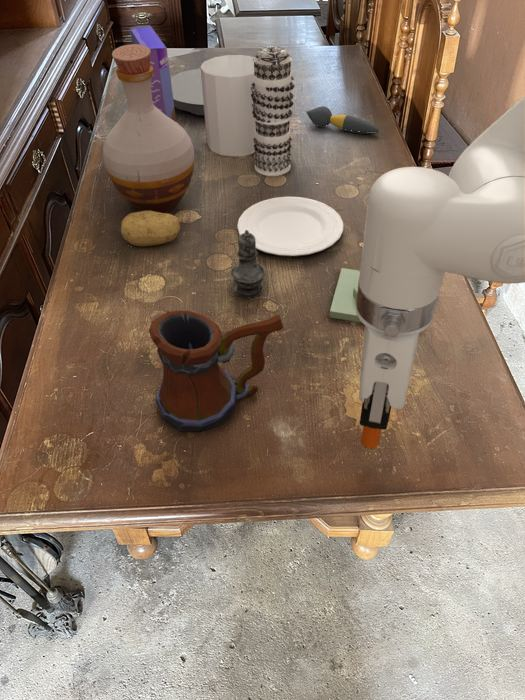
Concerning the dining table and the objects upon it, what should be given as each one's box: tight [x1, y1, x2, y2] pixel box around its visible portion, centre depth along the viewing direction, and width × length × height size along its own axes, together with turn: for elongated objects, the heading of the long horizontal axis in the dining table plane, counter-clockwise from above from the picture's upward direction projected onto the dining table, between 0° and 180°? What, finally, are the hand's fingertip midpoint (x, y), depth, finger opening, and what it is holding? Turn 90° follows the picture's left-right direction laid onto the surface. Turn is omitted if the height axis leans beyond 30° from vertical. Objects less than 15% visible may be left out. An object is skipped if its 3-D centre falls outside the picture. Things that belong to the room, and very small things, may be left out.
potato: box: [120, 210, 181, 247], centre depth 103 cm, size 7×11×6 cm, turn 94°
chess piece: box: [230, 230, 266, 299], centre depth 91 cm, size 6×6×12 cm
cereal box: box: [129, 24, 177, 123], centre depth 127 cm, size 17×5×24 cm, turn 20°
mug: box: [148, 310, 284, 432], centre depth 72 cm, size 18×12×15 cm, turn 99°
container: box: [199, 54, 256, 157], centre depth 129 cm, size 14×14×18 cm
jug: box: [102, 43, 195, 214], centre depth 105 cm, size 20×18×30 cm
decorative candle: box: [251, 45, 295, 177], centre depth 117 cm, size 9×9×25 cm
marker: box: [360, 396, 386, 450], centre depth 65 cm, size 2×2×11 cm
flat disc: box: [170, 67, 205, 116], centre depth 152 cm, size 28×28×4 cm
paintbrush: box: [305, 105, 380, 135], centre depth 138 cm, size 20×5×5 cm, turn 71°
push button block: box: [328, 267, 363, 324], centre depth 91 cm, size 14×12×3 cm
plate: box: [236, 196, 344, 258], centre depth 107 cm, size 21×21×2 cm
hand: (374, 414), depth 65 cm, fingers closed on marker, 2 cm apart
